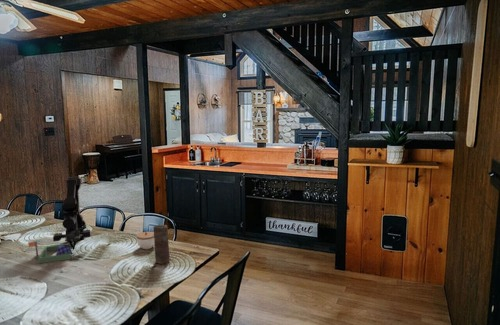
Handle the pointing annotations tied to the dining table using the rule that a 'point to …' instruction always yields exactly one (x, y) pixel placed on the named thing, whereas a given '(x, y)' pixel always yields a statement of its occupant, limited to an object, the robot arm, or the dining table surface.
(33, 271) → the dining table surface
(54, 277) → the dining table surface
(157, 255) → the candle
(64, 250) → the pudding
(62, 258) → the frame
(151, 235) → the lidded jar
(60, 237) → the robot arm
